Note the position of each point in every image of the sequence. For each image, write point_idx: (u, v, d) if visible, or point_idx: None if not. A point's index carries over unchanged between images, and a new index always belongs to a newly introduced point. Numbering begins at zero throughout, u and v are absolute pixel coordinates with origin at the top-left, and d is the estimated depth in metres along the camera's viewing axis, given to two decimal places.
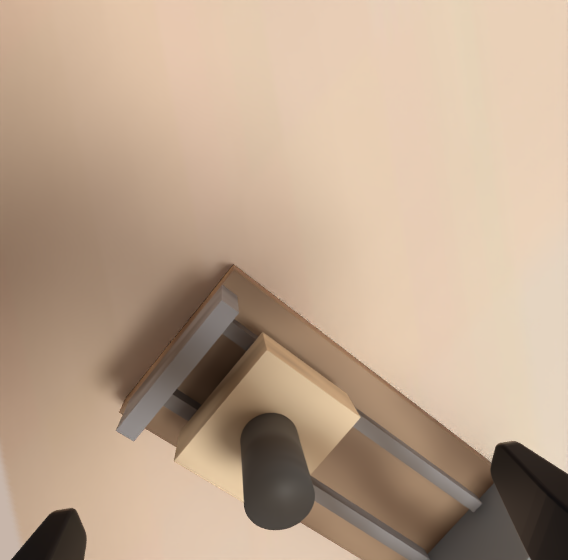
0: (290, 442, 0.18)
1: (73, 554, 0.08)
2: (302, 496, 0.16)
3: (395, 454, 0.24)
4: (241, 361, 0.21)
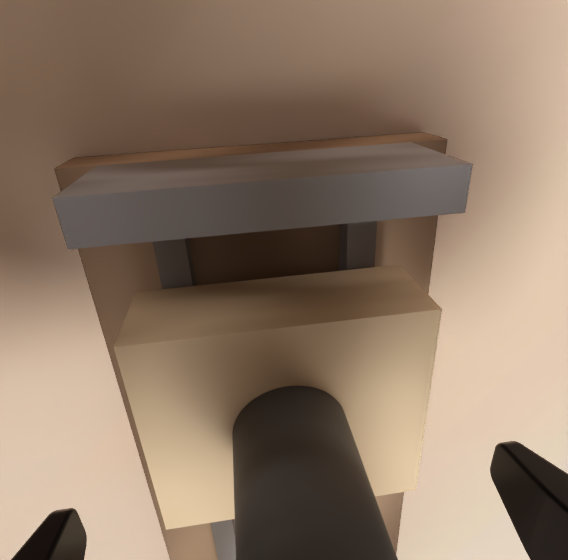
0: (374, 496, 0.08)
1: (73, 554, 0.08)
2: None
3: None
4: (341, 279, 0.11)
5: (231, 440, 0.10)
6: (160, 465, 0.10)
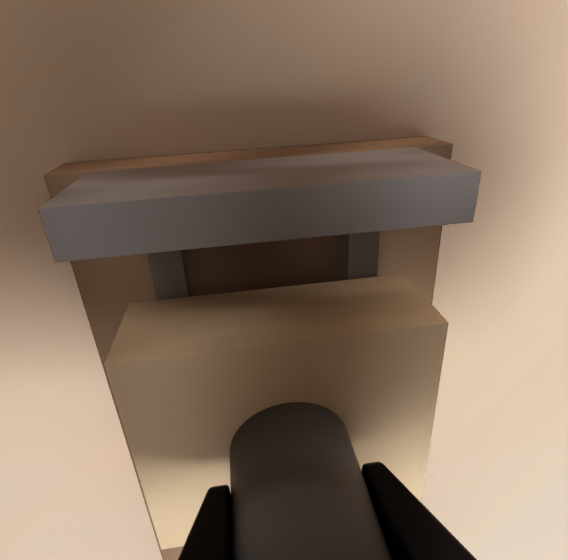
0: (378, 521, 0.08)
1: None
2: None
3: None
4: (343, 289, 0.10)
5: (228, 458, 0.10)
6: (154, 484, 0.10)
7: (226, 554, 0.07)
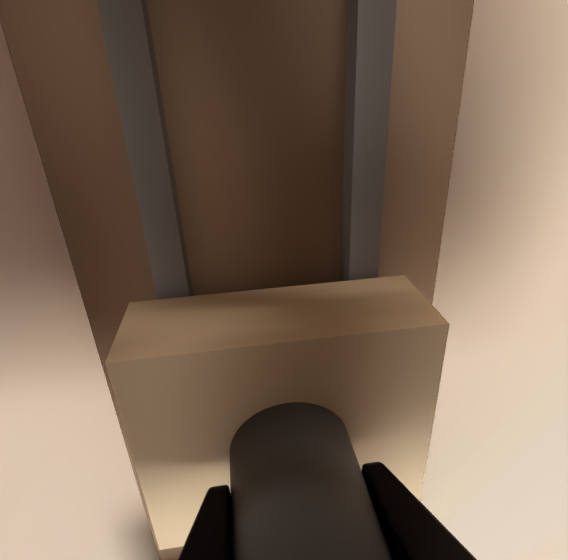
0: (379, 522, 0.08)
1: None
2: None
3: None
4: (343, 290, 0.10)
5: (228, 458, 0.10)
6: (153, 484, 0.10)
7: (226, 554, 0.07)
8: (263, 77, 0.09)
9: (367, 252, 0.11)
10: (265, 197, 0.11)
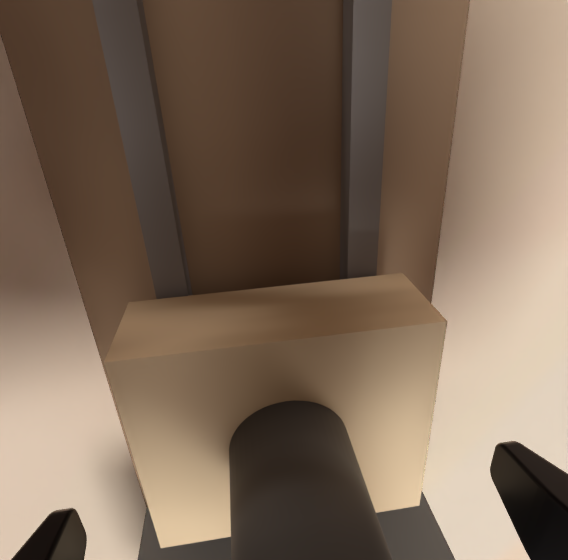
0: (377, 519, 0.08)
1: (73, 554, 0.08)
2: None
3: None
4: (342, 288, 0.10)
5: (228, 457, 0.10)
6: (154, 483, 0.10)
7: None
8: None
9: (372, 92, 0.09)
10: (250, 24, 0.09)
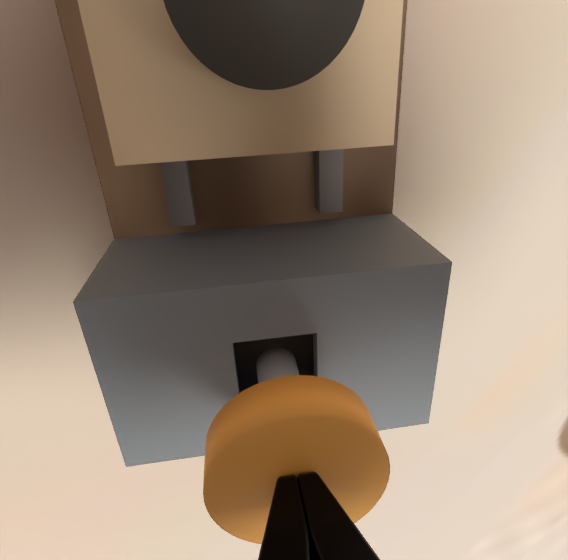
0: None
1: None
2: (312, 29, 0.06)
3: None
4: None
5: None
6: (102, 49, 0.09)
7: (308, 540, 0.07)
8: None
9: None
10: None
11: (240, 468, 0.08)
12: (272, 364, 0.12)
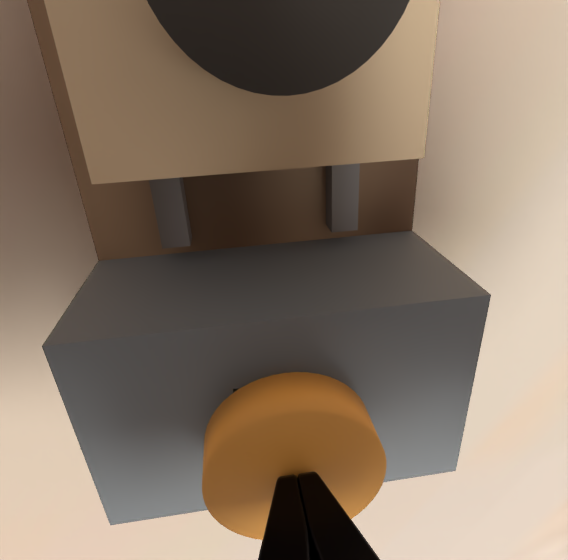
0: None
1: None
2: (346, 9, 0.04)
3: None
4: None
5: None
6: (72, 43, 0.07)
7: (308, 540, 0.07)
8: None
9: None
10: None
11: (238, 463, 0.08)
12: None
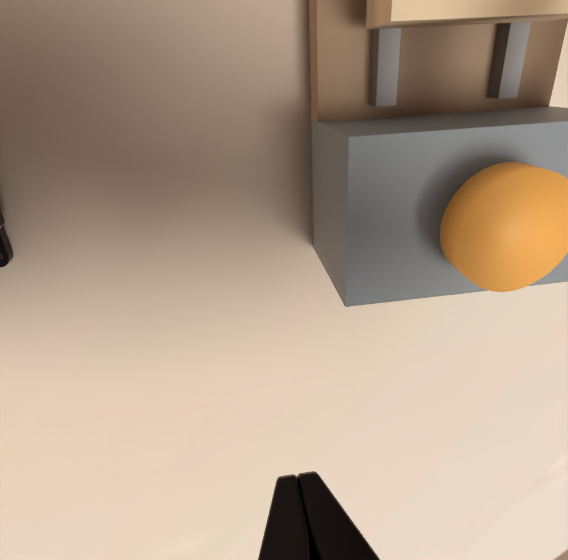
0: None
1: None
2: None
3: None
4: None
5: None
6: None
7: (308, 540, 0.07)
8: None
9: None
10: None
11: (489, 212, 0.12)
12: None
